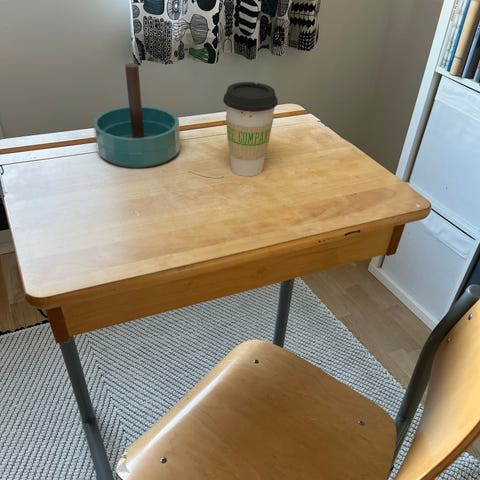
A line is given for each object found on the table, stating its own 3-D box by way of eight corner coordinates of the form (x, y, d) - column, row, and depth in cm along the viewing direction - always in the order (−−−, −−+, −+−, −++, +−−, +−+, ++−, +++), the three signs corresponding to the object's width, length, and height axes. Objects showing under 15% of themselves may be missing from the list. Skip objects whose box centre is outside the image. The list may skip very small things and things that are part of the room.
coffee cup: (214, 175, 98) (215, 94, 88) (231, 154, 105) (233, 77, 95) (263, 184, 96) (270, 103, 86) (277, 163, 103) (284, 85, 93)
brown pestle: (119, 148, 103) (109, 65, 93) (137, 138, 107) (129, 58, 96) (141, 155, 101) (133, 72, 91) (158, 145, 105) (153, 64, 95)
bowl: (80, 154, 102) (74, 125, 98) (133, 127, 113) (131, 100, 109) (145, 177, 97) (143, 147, 92) (195, 147, 107) (195, 118, 103)
